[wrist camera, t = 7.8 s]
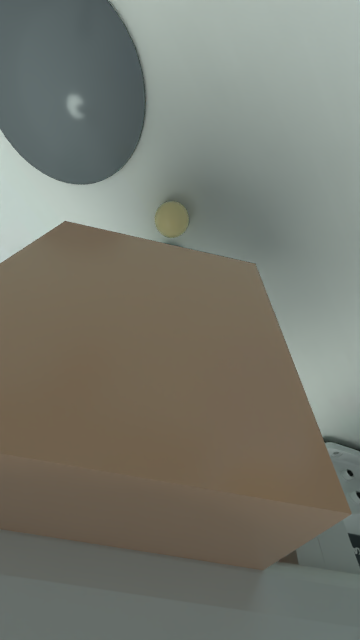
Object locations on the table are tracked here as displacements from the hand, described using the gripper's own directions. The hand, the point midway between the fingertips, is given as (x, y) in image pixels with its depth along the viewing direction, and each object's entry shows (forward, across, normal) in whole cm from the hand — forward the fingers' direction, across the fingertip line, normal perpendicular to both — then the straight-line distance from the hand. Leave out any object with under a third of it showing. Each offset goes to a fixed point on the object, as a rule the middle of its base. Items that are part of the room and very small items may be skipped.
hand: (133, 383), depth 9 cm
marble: (+19, 0, -2) cm, 19 cm away
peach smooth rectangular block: (+2, 0, 0) cm, 2 cm away
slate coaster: (+19, +10, -8) cm, 23 cm away
